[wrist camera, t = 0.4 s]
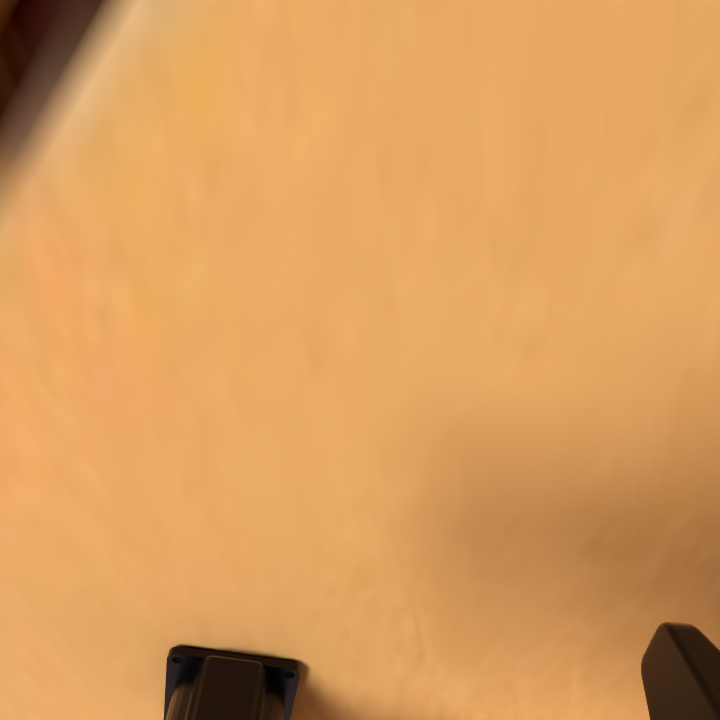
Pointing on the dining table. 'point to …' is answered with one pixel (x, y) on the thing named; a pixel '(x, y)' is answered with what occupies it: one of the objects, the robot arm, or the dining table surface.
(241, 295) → the dining table surface
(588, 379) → the dining table surface
